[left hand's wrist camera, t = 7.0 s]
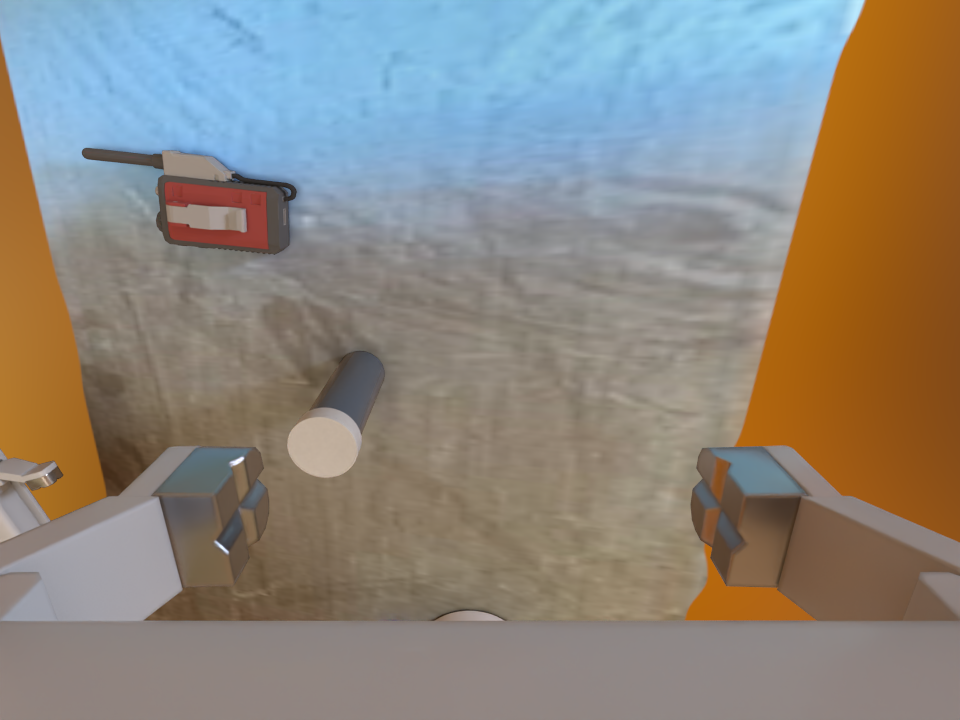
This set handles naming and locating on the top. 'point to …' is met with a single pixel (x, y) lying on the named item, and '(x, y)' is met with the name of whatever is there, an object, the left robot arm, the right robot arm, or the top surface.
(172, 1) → the top surface
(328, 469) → the lid
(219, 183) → the walkie-talkie
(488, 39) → the top surface
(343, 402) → the dark grey cylinder
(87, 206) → the top surface
